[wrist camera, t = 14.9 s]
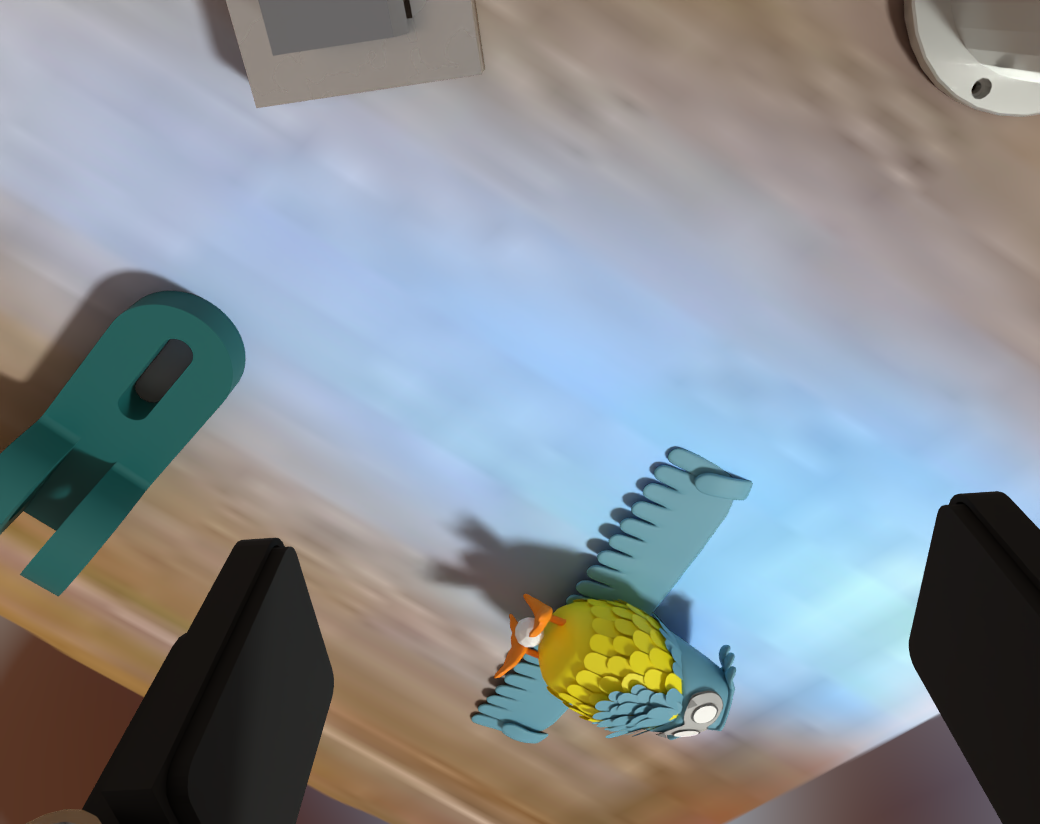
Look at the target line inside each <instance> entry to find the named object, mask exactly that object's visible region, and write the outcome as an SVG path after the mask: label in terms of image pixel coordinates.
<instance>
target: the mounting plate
mask: <svg viewBox="0 0 1040 824" xmlns="http://www.w3.org/2000/svg"><path fill="white" fill-rule="evenodd" d="M403 2H404V8H405V13H406V18H407V24H408V29H409V33H408V34H404V35H401V36H397V37H393V38H386V39H380V40H373V41H367V42H360V43H354V44H347V45H340V46H334V47H327V48H321V49H314V50H308V51H301V52H294V53H288V54H281V55H275V56H273V54H272V50H271V47H270V43H269V39H268V35H267V32H266V28H265V24H264V20H263V17H262V13H261V9H260V5H259V2H258V0H226V3H227V7H228V10H229V14H230V17H231V21H232V24H233V28H234V31H235V35H236V38H237V42H238V45H239V49H240V52H241V56H242V59H243V63H244V66H245V70H246V73H247V76H248V80H249V83H250V87H251V90H252V94H253V97H254V101H255V104H256V108H260V107H267V106H274V105H281V104H287V103H294V102H301V101H307V100H314V99H321V98H327V97H334V96H341V95H347V94H354V93H361V92H368V91H374V90H381V89H388V88H394V87H401V86H408V85H414V84H421V83H428V82H434V81H441V80H448V79H455V78H461V77H468V76H475V75H481V74H482V73H483V71H484V70H485V65H484V58H483V51H482V45H481V38H480V31H479V24H478V17H477V10H476V3H475V0H403Z"/></svg>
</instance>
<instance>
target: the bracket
mask: <svg viewBox="0 0 1040 824" xmlns="http://www.w3.org/2000/svg"><path fill="white" fill-rule="evenodd" d="M170 339H178V340H181V341H183V342H185V343H186V344H187V345H188V346H189V347H190V348H191V350H192V353H193V360H192V362H191V364H190V365H189V366H188V367H187V369H186V370H185V371H184V372H183V373H182V375H181V376H180V377H179V378H178V380H177V381H176V382H175V383H174V384H173V386H172V387H171V388H170V389H169V390H168V392H167V393H166V394H165V395H164V396H163V398H162V399H161V400H160V401H159V402H156V403H150V402H147V401H145V400H143V399H142V398H140V397H139V396H138V394H137V393H136V390H135V383H136V381H137V380H138V379H139V378H140V376H141V375H142V374H143V373H144V371H145V370H146V369H147V368H148V366H149V365H150V364H151V363H152V361H153V360H154V359H155V357H156V356H157V355H158V354H159V352H160V351H161V350H162V349H163V347H164V346H165V345H166V344H167V342H168V341H169V340H170ZM244 368H245V348H244V344H243V341H242V338H241V336H240V334H239V332H238V330H237V329H236V327H235V325H234V324H233V323H232V321H231V320H230V319H229V318H228V317H227V316H226V314H224V313H223V312H222V311H221V310H220V309H219V308H217V307H216V306H215V305H213V304H212V303H210V302H209V301H207V300H205V299H203V298H201V297H198V296H196V295H193V294H189V293H185V292H180V291H161V292H156V293H153V294H150V295H147V296H145V297H143V298H142V299H140V300H139V301H137V302H136V303H135V304H133V305H132V306H131V307H130V308H128V309H127V310H126V311H124V312H123V313H122V314H121V315H119V316H118V317H117V318H116V319H115V320H114V321H113V322H112V324H111V325H110V326H109V328H108V329H107V330H106V332H105V333H104V334H103V336H102V337H101V338H100V340H99V341H98V342H97V344H96V345H95V346H94V348H93V349H92V350H91V352H90V353H89V354H88V356H87V357H86V358H85V360H84V361H83V362H82V364H81V365H80V366H79V368H78V369H77V370H76V372H75V373H74V374H73V376H72V377H71V378H70V380H69V381H68V382H67V384H66V385H65V386H64V388H63V389H62V390H61V392H60V393H59V394H58V396H57V397H56V398H55V400H54V401H53V402H52V404H51V405H50V406H49V408H48V409H47V410H46V412H45V413H44V414H43V416H42V417H41V418H40V419H39V420H38V421H37V422H36V423H34V424H33V425H32V426H31V427H30V428H29V429H27V430H26V431H25V432H24V433H23V434H22V435H20V436H19V437H18V438H17V439H16V440H15V441H14V442H12V443H11V444H10V445H9V446H8V447H7V448H6V449H5V450H4V451H3V452H2V453H1V454H0V534H1V533H2V532H3V531H4V530H5V529H6V528H7V527H8V526H9V525H10V524H11V523H12V522H13V521H14V520H15V519H16V518H17V517H18V516H19V515H20V514H21V513H22V512H23V511H24V512H26V513H28V514H29V515H31V516H33V517H34V518H36V519H38V520H39V521H41V522H42V523H44V524H46V525H47V526H49V527H51V528H52V529H54V530H56V532H55V533H54V534H53V535H52V537H51V538H50V539H49V540H48V541H47V542H46V544H45V545H44V546H43V547H42V548H41V550H40V551H39V552H38V553H37V554H36V555H35V557H34V558H33V559H32V560H31V561H30V563H29V564H28V565H27V566H26V568H25V569H24V570H23V571H22V573H21V574H20V575H21V576H23V577H25V578H27V579H28V580H30V581H32V582H34V583H35V584H37V585H39V586H41V587H43V588H44V589H46V590H48V591H50V592H51V593H53V594H55V595H57V596H59V595H60V594H61V593H62V592H63V591H64V590H65V589H66V588H67V587H68V586H69V585H70V584H71V582H72V581H73V580H74V579H75V578H76V577H77V575H78V574H79V573H80V572H81V571H82V570H83V568H84V567H85V566H86V565H87V564H88V562H89V561H90V560H91V559H92V558H93V556H94V555H95V554H96V553H97V552H98V550H99V549H100V548H101V547H102V546H103V544H104V543H105V542H106V541H107V540H108V538H109V537H110V536H111V535H112V533H113V532H114V531H115V530H116V528H117V527H118V526H119V525H120V523H121V522H122V521H123V520H124V518H125V517H126V516H127V515H128V513H129V512H130V511H131V509H132V508H133V507H134V506H135V504H136V503H137V502H138V500H139V499H140V498H141V497H142V495H143V494H144V493H145V491H146V490H147V489H148V488H149V486H150V485H151V484H152V483H153V482H154V481H155V480H156V478H157V477H158V476H159V475H160V474H161V473H162V472H163V470H164V469H165V468H166V467H167V466H168V465H169V464H170V462H171V461H172V460H173V459H174V458H175V457H176V456H177V454H178V453H179V452H180V451H181V450H182V449H183V448H184V446H185V445H186V444H187V443H188V442H189V441H190V440H191V438H192V437H193V436H194V435H195V434H196V433H197V432H198V430H199V429H200V428H201V427H202V426H203V425H204V424H205V422H206V421H207V420H208V419H209V418H210V417H211V416H212V414H213V413H214V412H215V411H216V410H217V409H218V408H219V406H220V405H221V404H222V403H223V402H224V400H225V399H226V398H227V397H228V395H229V394H230V393H231V391H232V390H233V389H234V387H235V386H236V385H237V383H238V382H239V380H240V378H241V377H242V374H243V371H244Z"/></svg>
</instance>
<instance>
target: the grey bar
mask: <svg viewBox="0 0 1040 824" xmlns="http://www.w3.org/2000/svg"><path fill="white" fill-rule="evenodd" d="M258 2H259V5H260V9H261V13H262V17H263V20H264V24H265V28H266V32H267V35H268V39H269V43H270V47H271V50H272V54H273V56H275V55H281V54H288V53H294V52H301V51H308V50H314V49H321V48H327V47H334V46H340V45H347V44H354V43H360V42H367V41H373V40H380V39H386V38H393V37H397V36H401V35H404V34H408V33H409V29H408V24H407V18H406V13H405V8H404V2H403V0H258Z"/></svg>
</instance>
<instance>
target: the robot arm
mask: <svg viewBox="0 0 1040 824" xmlns="http://www.w3.org/2000/svg"><path fill="white" fill-rule="evenodd" d="M904 19H905V23H906V28H907V32H908V36H909V41H910V45H911V47H912V49H913V52H914V54H915V56H916V58H917V60H918V62H919V64H920V67H921V68H922V70H923V71H924V72H925V74H926V75H927V76H928V77H929V79H930V80H931V81H932V82H933V84H934V85H935V86H936V87H937V88H938V89H940V90H941V91H942V92H944V93H945V94H946V95H948V96H949V97H950V98H951V99H953V100H954V101H956V102H958V103H961V104H963V105H965V106H968V107H970V108H972V109H975V110H978V111H982V112H987V113H991V114H995V115H1003V116H1019V117H1025V116H1032V115H1040V0H904ZM975 82H976V87H975V89H974V90H973V91H972V92H971V90H972V87H973V85H974V84H975ZM909 652H910V657H911V660H912V663H913V666H914V668H915V670H916V671H917V673H918V675H919V677H920V678H921V680H922V682H923V684H924V686H925V687H926V689H927V691H928V693H929V694H930V696H931V698H932V700H933V701H934V703H935V705H936V707H937V709H938V710H939V712H940V714H941V716H942V717H943V719H944V721H945V722H946V724H947V726H948V728H949V730H950V732H951V733H952V735H953V737H954V738H955V740H956V742H957V744H958V746H959V747H960V749H961V751H962V753H963V755H964V756H965V758H966V760H967V762H968V763H969V765H970V767H971V768H972V770H973V772H974V774H975V776H976V778H977V779H978V781H979V783H980V785H981V786H982V788H983V790H984V792H985V793H986V795H987V797H988V798H989V801H990V802H991V804H992V806H993V808H994V809H995V811H996V813H997V815H998V816H999V818H1000V820H1001V822H1002V823H1003V824H1040V529H1039V528H1038V527H1037V526H1036V525H1035V524H1034V523H1033V522H1032V521H1031V520H1030V519H1029V518H1028V517H1027V516H1026V515H1025V513H1024V512H1023V511H1022V510H1021V509H1020V508H1019V507H1018V506H1017V505H1016V504H1015V503H1014V502H1013V501H1012V500H1011V499H1010V498H1009V497H1008V496H1007V495H1006V494H1004V493H1002V492H998V491H995V492H980V493H964V494H957V495H954V496H953V497H952V499H951V500H950V503H949V505H944V506H941V507H940V509H939V511H938V513H937V517H936V522H935V526H934V531H933V535H932V540H931V544H930V549H929V553H928V558H927V562H926V566H925V571H924V575H923V580H922V584H921V589H920V593H919V598H918V602H917V607H916V611H915V616H914V620H913V625H912V629H911V634H910V638H909ZM333 688H334V677H333V671H332V667H331V664H330V661H329V657H328V654H327V651H326V648H325V644H324V641H323V638H322V635H321V632H320V628H319V625H318V622H317V619H316V615H315V612H314V609H313V606H312V602H311V599H310V596H309V593H308V589H307V586H306V583H305V580H304V576H303V573H302V570H301V567H300V563H299V560H298V557H297V554H296V551H295V550H294V548H293V547H284V544H283V542H282V541H281V540H280V539H279V538H265V539H249V540H240V541H238V542H237V543H236V545H235V546H234V547H233V549H232V551H231V553H230V555H229V557H228V558H227V560H226V562H225V564H224V566H223V568H222V569H221V571H220V573H219V575H218V577H217V579H216V580H215V582H214V584H213V586H212V588H211V590H210V591H209V593H208V595H207V597H206V599H205V601H204V602H203V604H202V606H201V608H200V610H199V612H198V613H197V615H196V617H195V619H194V621H193V623H192V624H191V626H190V628H189V630H188V632H187V633H185V634H184V635H182V636H181V637H179V638H178V640H177V641H176V642H175V644H174V645H173V647H172V648H171V650H170V652H169V654H168V655H167V657H166V659H165V661H164V663H163V664H162V666H161V668H160V670H159V672H158V673H157V675H156V677H155V679H154V681H153V682H152V684H151V686H150V688H149V690H148V691H147V693H146V695H145V697H144V699H143V700H142V702H141V704H140V706H139V708H138V709H137V711H136V713H135V715H134V717H133V718H132V720H131V722H130V724H129V726H128V727H127V729H126V731H125V733H124V735H123V736H122V738H121V740H120V742H119V744H118V745H117V747H116V749H115V751H114V753H113V755H112V756H111V758H110V760H109V762H108V764H107V765H106V767H105V769H104V771H103V772H102V774H101V776H100V778H99V780H98V781H97V783H96V785H95V787H94V789H93V790H92V792H91V794H90V796H89V798H88V800H87V801H86V803H85V805H84V807H83V809H82V810H70V809H66V810H61V811H57V812H53V813H49V814H46V815H43V816H41V817H39V818H37V819H35V820H32V821H30V822H28V823H26V824H296V820H297V817H298V814H299V810H300V807H301V803H302V800H303V796H304V793H305V789H306V786H307V782H308V779H309V775H310V772H311V769H312V765H313V762H314V758H315V755H316V751H317V748H318V744H319V741H320V737H321V734H322V730H323V727H324V723H325V720H326V717H327V713H328V710H329V706H330V703H331V699H332V695H333Z"/></svg>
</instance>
